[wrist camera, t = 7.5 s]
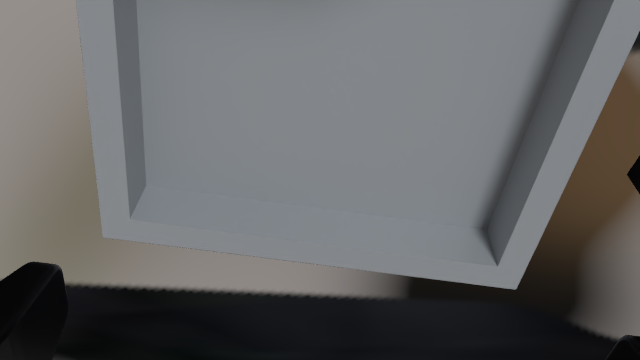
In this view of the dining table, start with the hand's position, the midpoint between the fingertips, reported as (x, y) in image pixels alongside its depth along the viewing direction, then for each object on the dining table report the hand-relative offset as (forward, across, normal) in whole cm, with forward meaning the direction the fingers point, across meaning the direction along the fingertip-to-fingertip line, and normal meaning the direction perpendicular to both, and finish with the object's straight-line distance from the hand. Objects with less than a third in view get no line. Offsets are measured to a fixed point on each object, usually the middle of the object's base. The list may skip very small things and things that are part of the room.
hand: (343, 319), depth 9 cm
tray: (+12, 0, +1) cm, 12 cm away
